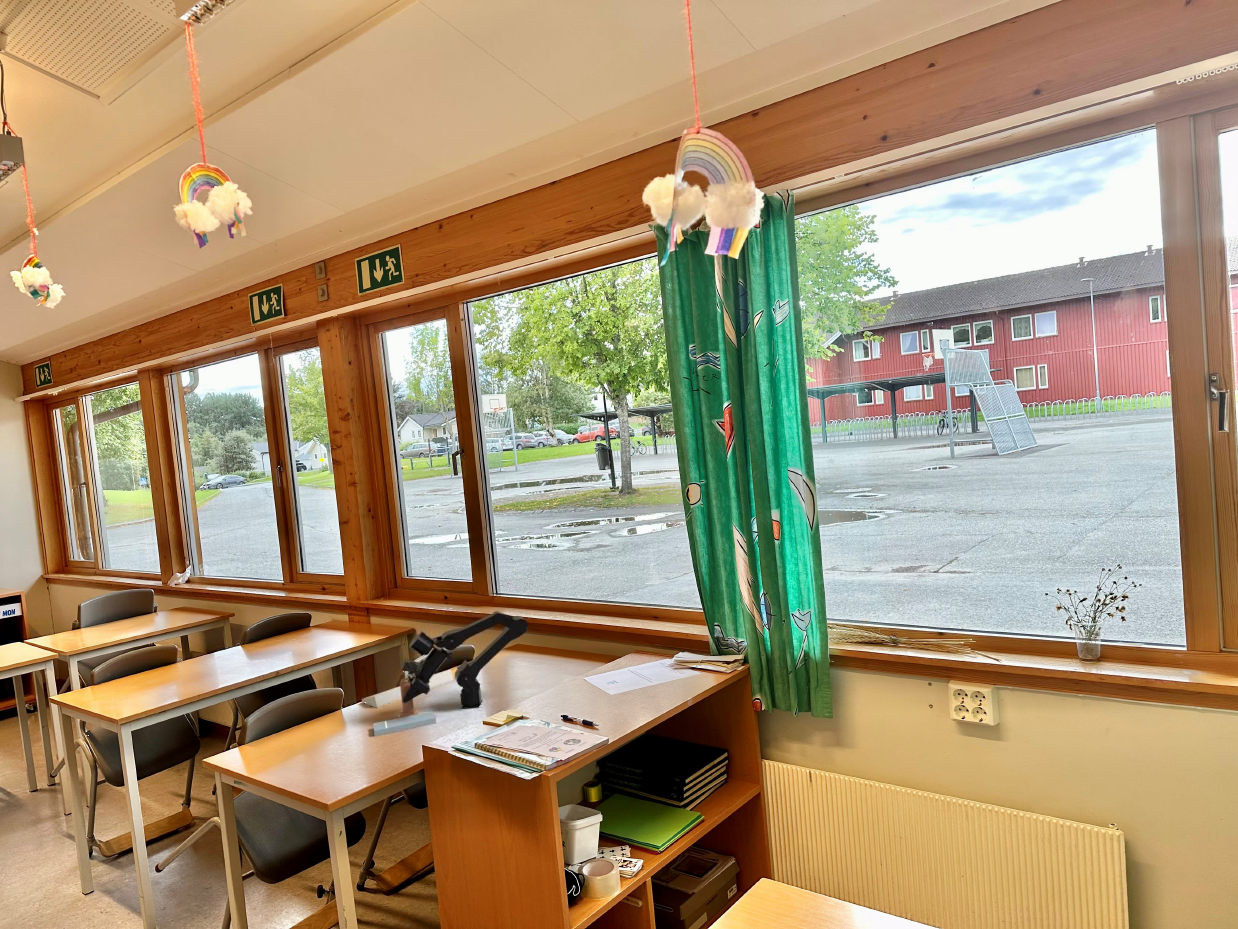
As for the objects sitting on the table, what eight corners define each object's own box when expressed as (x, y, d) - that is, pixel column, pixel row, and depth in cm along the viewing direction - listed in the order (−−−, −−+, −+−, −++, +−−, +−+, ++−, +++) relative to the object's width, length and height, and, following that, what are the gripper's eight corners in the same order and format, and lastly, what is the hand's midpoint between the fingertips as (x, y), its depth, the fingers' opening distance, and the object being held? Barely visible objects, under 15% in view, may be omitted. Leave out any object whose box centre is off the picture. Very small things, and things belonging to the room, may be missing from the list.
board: (433, 716, 268) (433, 710, 268) (436, 723, 260) (435, 717, 260) (373, 728, 261) (373, 723, 261) (374, 736, 253) (374, 730, 253)
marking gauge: (417, 714, 271) (413, 676, 271) (418, 719, 266) (414, 679, 266) (399, 718, 269) (395, 679, 269) (400, 722, 264) (396, 683, 264)
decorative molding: (364, 712, 289) (377, 708, 283) (361, 699, 290) (374, 696, 283) (440, 684, 315) (453, 681, 308) (437, 673, 315) (450, 669, 309)
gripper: (411, 644, 277) (382, 680, 274) (416, 656, 260) (385, 695, 256) (435, 662, 280) (408, 698, 277) (442, 674, 262) (412, 713, 259)
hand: (403, 700), depth 267 cm, fingers closed on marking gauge, 3 cm apart
